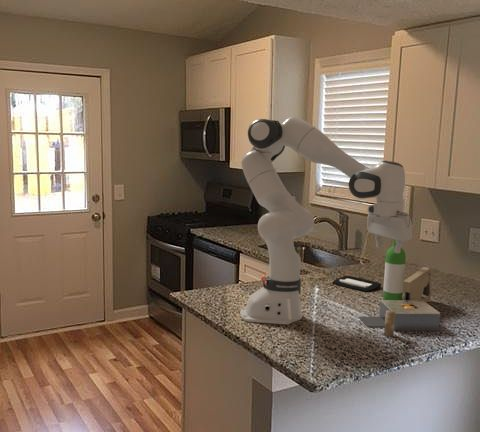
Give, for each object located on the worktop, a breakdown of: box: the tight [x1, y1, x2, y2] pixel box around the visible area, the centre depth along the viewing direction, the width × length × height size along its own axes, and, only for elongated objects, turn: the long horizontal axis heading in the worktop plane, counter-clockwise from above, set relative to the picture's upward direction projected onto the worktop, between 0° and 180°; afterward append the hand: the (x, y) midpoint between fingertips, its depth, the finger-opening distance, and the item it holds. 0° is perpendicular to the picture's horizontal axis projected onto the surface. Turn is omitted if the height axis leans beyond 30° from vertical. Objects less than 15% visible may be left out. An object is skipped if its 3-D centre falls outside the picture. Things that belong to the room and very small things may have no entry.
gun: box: [402, 266, 433, 303], centre depth 204 cm, size 24×3×15 cm, turn 141°
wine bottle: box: [382, 239, 407, 300], centre depth 212 cm, size 8×8×30 cm
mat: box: [358, 315, 385, 328], centre depth 185 cm, size 8×10×1 cm
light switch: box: [331, 275, 382, 294], centre depth 233 cm, size 20×3×14 cm
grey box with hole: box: [378, 299, 441, 332], centre depth 185 cm, size 16×14×6 cm
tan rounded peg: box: [383, 310, 395, 338], centre depth 173 cm, size 3×3×8 cm
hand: (387, 250), depth 176 cm, fingers open, 8 cm apart
